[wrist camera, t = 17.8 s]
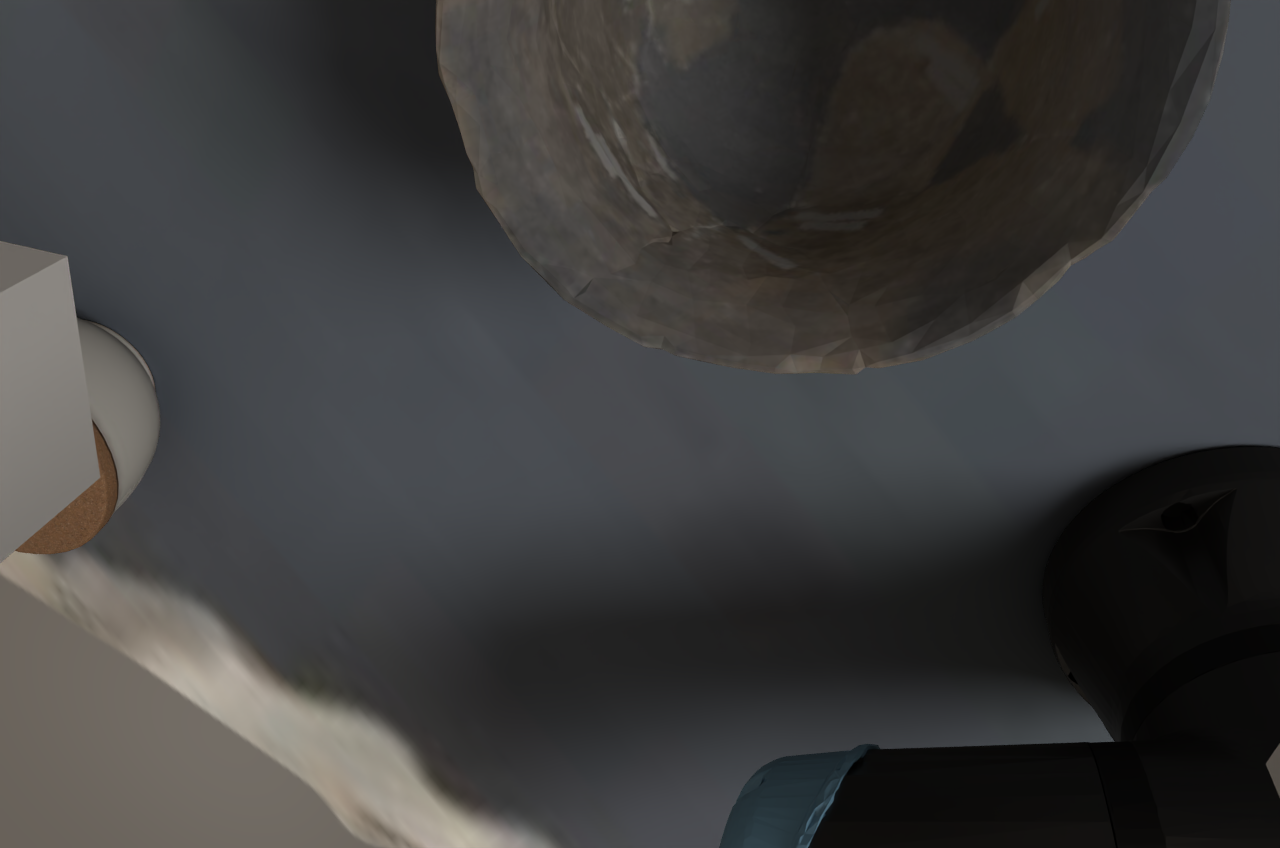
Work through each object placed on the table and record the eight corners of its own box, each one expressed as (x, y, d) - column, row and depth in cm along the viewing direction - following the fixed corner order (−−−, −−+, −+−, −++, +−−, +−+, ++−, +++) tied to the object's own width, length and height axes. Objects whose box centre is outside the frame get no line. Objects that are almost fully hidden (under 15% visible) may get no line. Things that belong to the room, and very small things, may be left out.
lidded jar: (236, 378, 51) (121, 490, 43) (146, 497, 56) (30, 616, 48) (42, 230, 48) (-117, 320, 40) (-33, 370, 54) (-186, 473, 46)
